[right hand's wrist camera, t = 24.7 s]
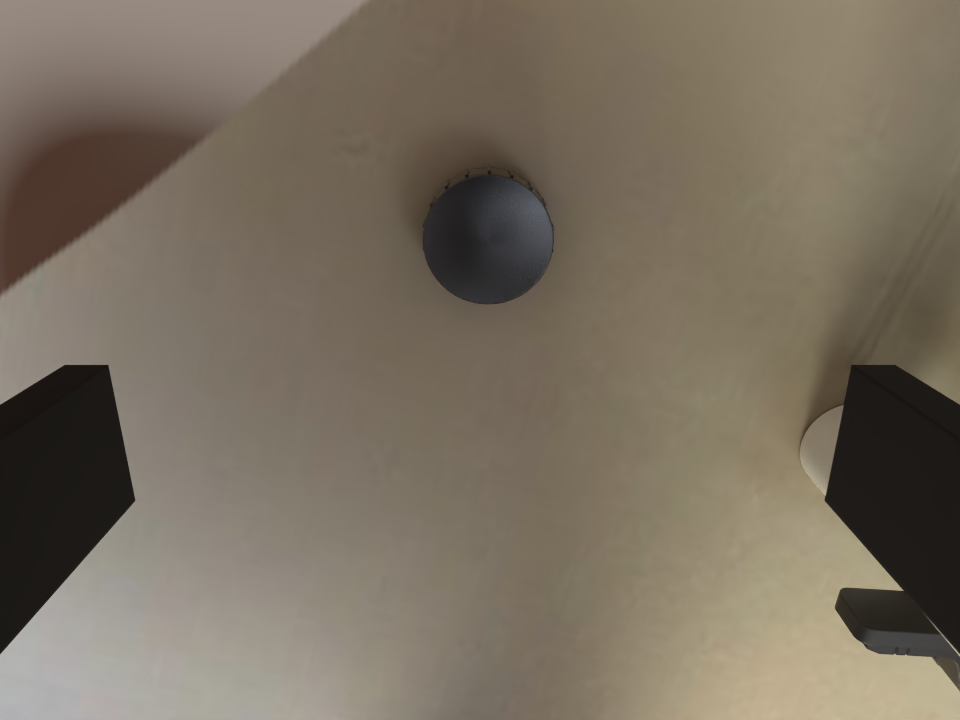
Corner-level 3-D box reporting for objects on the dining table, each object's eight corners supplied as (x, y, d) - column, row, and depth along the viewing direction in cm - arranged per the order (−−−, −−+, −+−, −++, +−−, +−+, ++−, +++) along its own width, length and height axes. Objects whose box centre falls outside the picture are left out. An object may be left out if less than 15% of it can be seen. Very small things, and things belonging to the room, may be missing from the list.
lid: (508, 310, 28) (510, 328, 25) (404, 249, 27) (397, 263, 25) (573, 208, 26) (582, 218, 24) (465, 140, 25) (463, 145, 23)
